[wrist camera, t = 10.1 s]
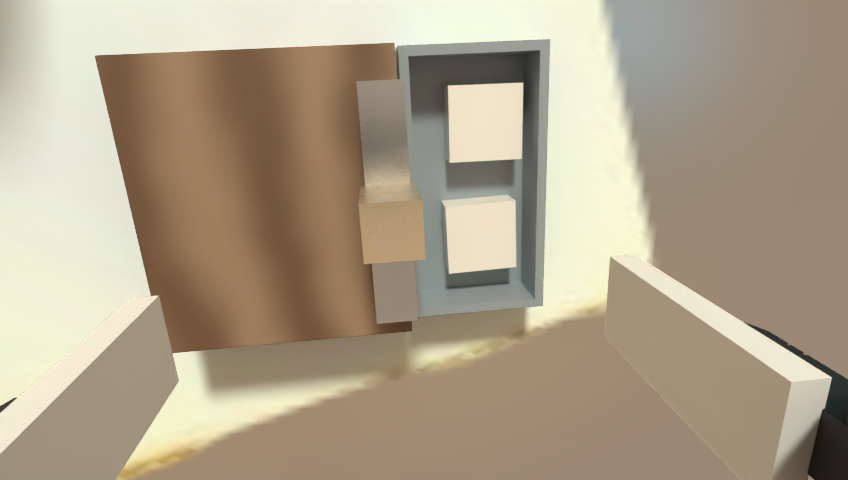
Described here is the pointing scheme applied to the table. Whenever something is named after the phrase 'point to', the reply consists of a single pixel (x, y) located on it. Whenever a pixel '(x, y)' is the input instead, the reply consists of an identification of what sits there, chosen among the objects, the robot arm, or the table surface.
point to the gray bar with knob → (389, 201)
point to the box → (477, 169)
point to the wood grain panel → (249, 189)
